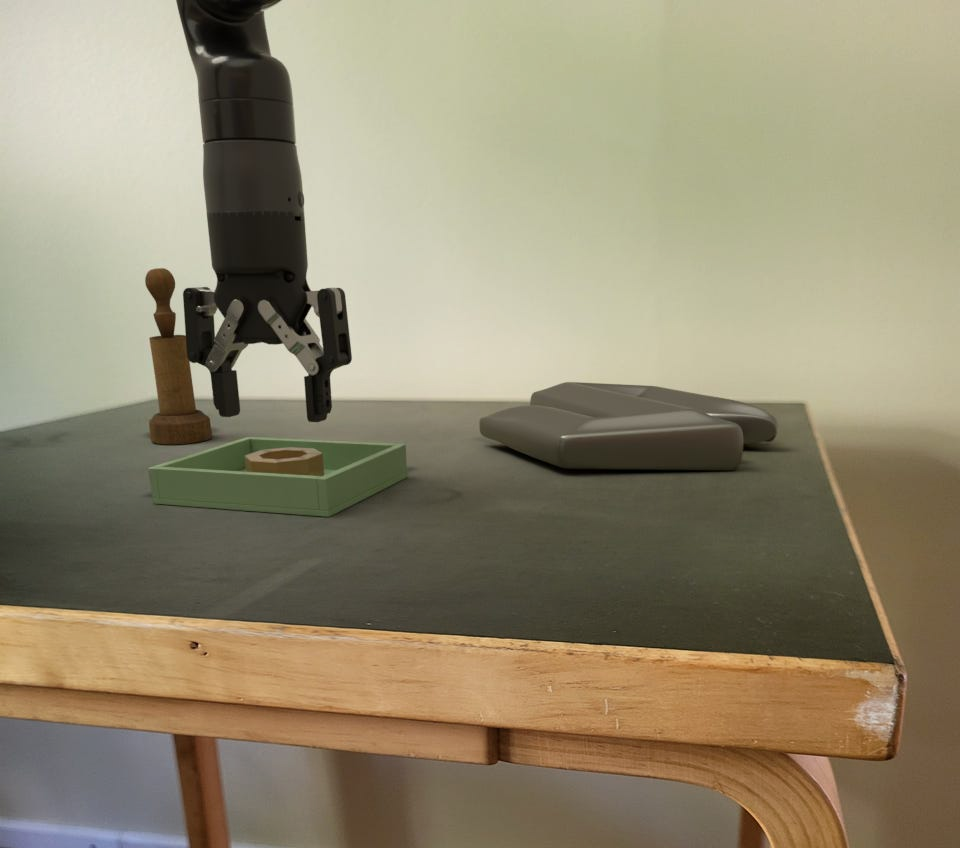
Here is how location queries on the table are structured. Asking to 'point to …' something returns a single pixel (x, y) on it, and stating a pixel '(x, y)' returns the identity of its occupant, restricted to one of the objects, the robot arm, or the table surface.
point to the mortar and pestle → (172, 373)
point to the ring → (286, 461)
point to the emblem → (630, 428)
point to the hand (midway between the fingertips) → (273, 418)
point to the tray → (279, 477)
